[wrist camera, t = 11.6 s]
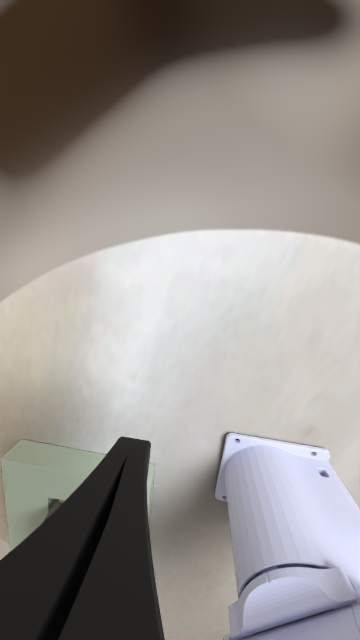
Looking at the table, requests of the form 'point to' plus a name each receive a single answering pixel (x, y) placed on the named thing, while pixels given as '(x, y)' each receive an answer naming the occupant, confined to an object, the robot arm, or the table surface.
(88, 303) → the table surface
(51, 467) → the socket panel
